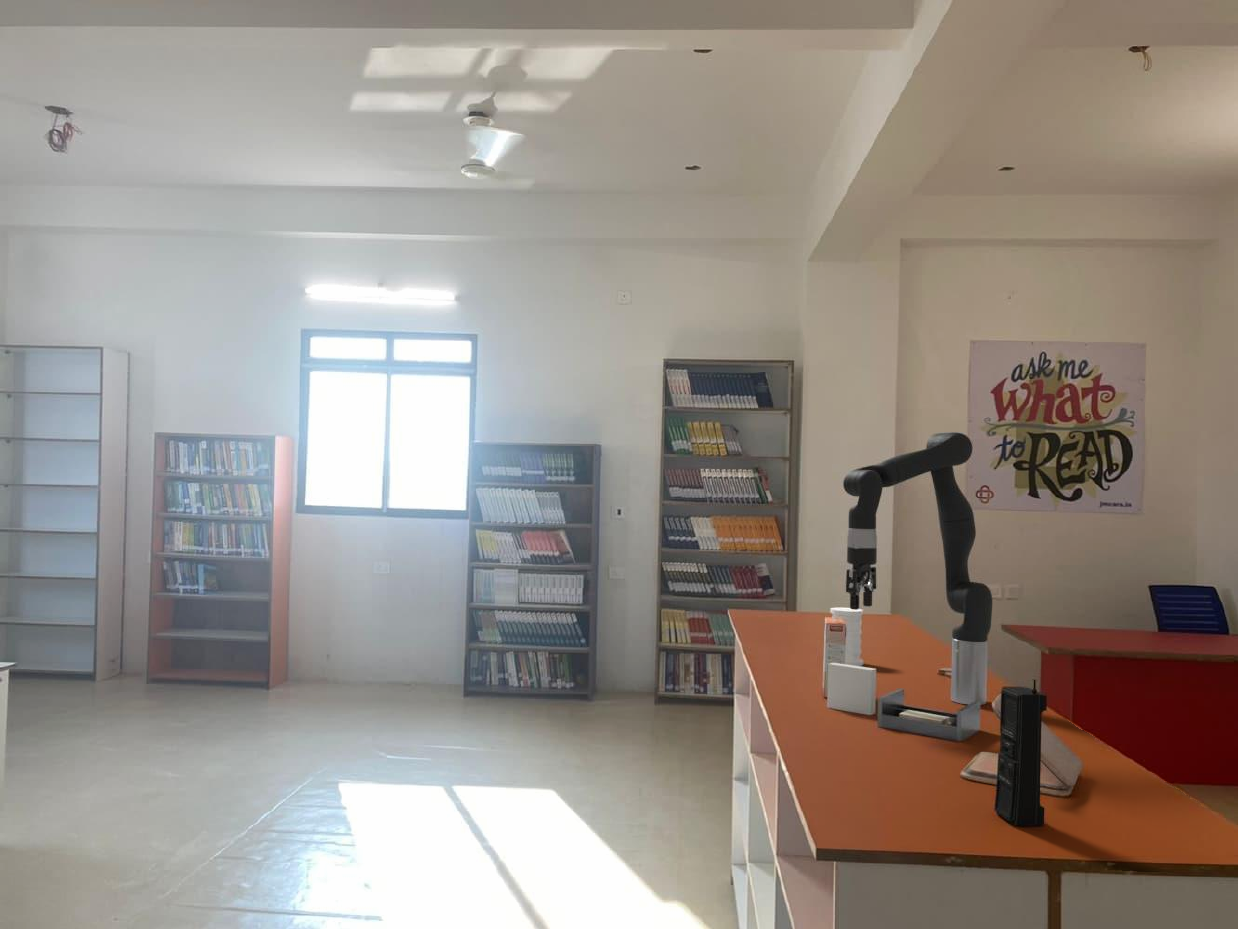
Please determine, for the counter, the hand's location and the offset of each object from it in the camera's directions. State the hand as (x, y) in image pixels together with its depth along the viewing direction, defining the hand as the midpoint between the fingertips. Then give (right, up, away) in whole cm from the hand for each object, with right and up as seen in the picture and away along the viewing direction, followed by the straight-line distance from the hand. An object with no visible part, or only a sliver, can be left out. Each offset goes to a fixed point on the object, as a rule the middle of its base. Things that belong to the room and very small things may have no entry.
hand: (861, 607), depth 247 cm
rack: (+12, -27, -18) cm, 34 cm away
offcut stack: (+10, -27, -19) cm, 35 cm away
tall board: (-3, -27, -1) cm, 27 cm away
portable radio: (+6, -25, -81) cm, 85 cm away
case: (+18, -26, -56) cm, 64 cm away
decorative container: (+13, -30, +70) cm, 77 cm away
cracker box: (-3, -28, +19) cm, 34 cm away
